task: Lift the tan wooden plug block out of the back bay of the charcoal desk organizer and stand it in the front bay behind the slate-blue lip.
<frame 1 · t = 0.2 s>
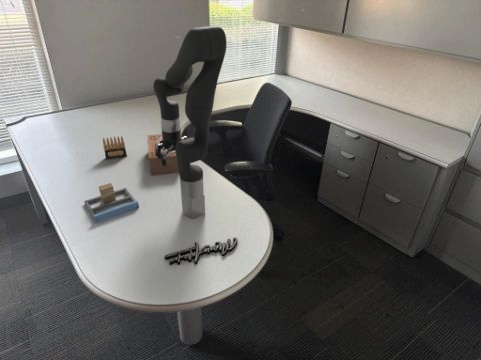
hand: (173, 162, 142), 17 cm above the table, tool pointing down, fingers open, 8 cm apart
tissue box cover: (164, 162, 178), on the table
plug block: (109, 201, 147), resting in organizer
ammunition clip: (116, 157, 180), on the table
nameplate: (203, 253, 123), on the table
organizer: (111, 205, 144), on the table
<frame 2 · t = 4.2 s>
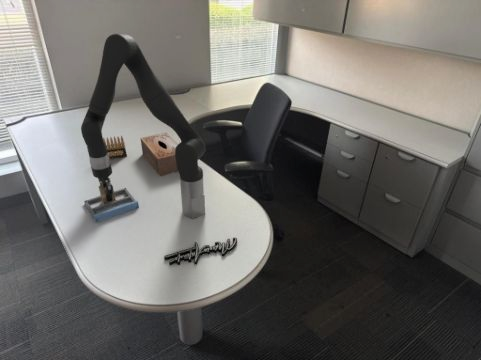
hand: (108, 198, 146), 2 cm above the table, tool pointing down, fingers closed on plug block, 3 cm apart
plug block: (109, 201, 147), resting in organizer, touching gripper
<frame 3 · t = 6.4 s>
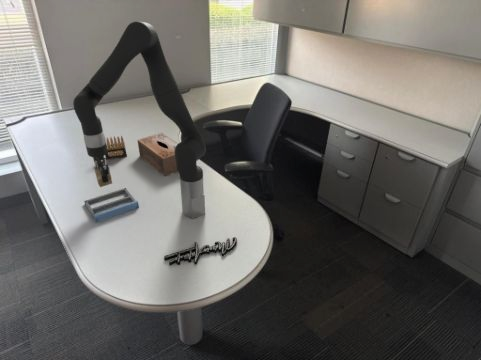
hand: (104, 179, 140), 11 cm above the table, tool pointing down, fingers closed on plug block, 3 cm apart
plug block: (105, 183, 141), point 9 cm above the table, touching gripper
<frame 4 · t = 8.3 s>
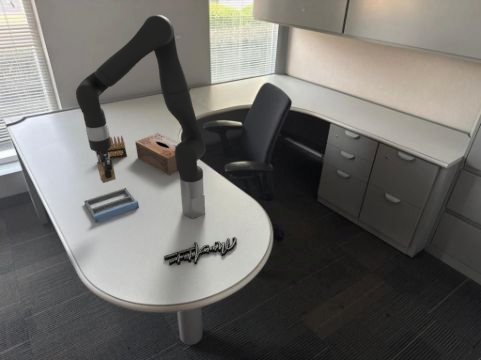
hand: (107, 175, 133), 17 cm above the table, tool pointing down, fingers closed on plug block, 3 cm apart
plug block: (108, 179, 134), point 15 cm above the table, touching gripper
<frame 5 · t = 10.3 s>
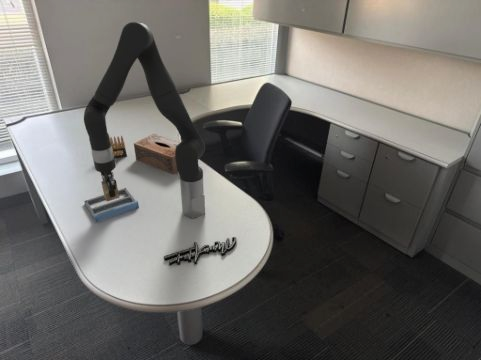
hand: (111, 194, 138), 8 cm above the table, tool pointing down, fingers closed on plug block, 3 cm apart
plug block: (112, 197, 139), point 6 cm above the table, touching gripper
when the fingers open (3 cm above the table, at t = 12.2 s): plug block drops 1 cm, resting in organizer.
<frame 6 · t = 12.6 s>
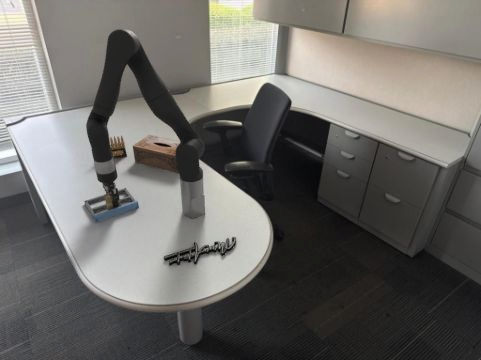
hand: (113, 202, 140), 4 cm above the table, tool pointing down, fingers open, 6 cm apart
plug block: (114, 209, 142), resting in organizer
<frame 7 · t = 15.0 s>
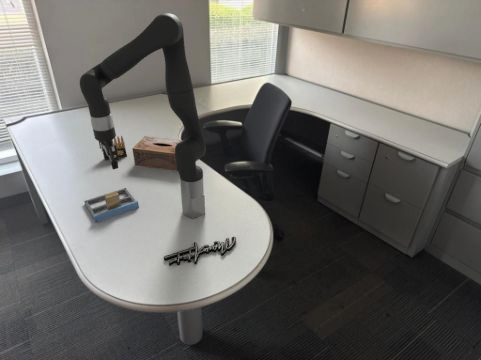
hand: (111, 164, 133), 21 cm above the table, tool pointing down, fingers open, 8 cm apart
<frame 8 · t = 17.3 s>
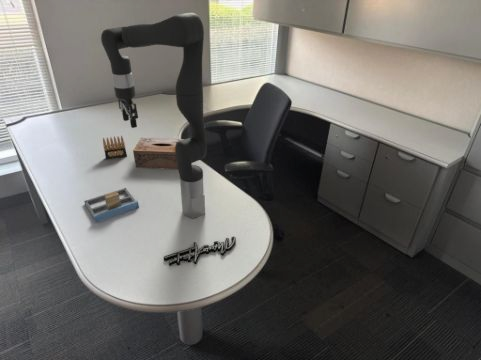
hand: (130, 123, 138), 32 cm above the table, tool pointing down, fingers open, 8 cm apart
at the end: plug block inside the target area on the organizer (0.1 cm from its centre), point 0.0 cm above the organizer's base; plug block tilted 0°; the gripper is holding nothing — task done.
